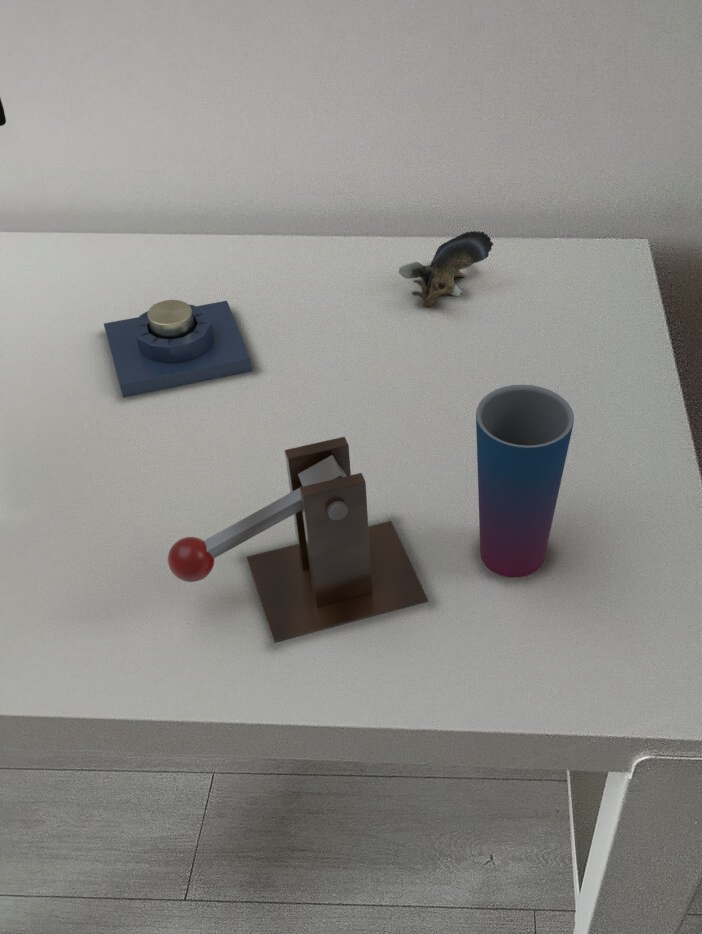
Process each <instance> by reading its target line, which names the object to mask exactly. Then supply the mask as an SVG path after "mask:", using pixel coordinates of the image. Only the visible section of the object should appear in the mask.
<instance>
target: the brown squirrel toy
mask: <svg viewBox="0 0 702 934" xmlns="http://www.w3.org/2000/svg"><path fill="white" fill-rule="evenodd" d="M491 240H492V238H491V237H490V236H488V233H485V231H479V230H478V231H476V230H474V231H472V230H470V231H466V232H463V233H461V234H460V235H458V236H455V237H453V238H451V239H449V240H448V241H446V242H444V243H442V244H440V246H438V248H437V249H436V252H435V254H434V255H433V258H432V260H431V262H430V264H427V265H423V264H422V263H420V262H418V261H413V262H409V263H406V264H404V265H401V266H400V267H399V268H398V274H399V275H401V277H403V278H404V279H408V280H410V279H414V280H413V283H416V284H418V285H419V286H420V288H421V292H420V291H417V290H416V291H411V292H412V293H411V294H412V295H413V296H415V297H416V296H417V297H420V298H421V299H422V307H423V308H431V307H432V306H433V305H434V303H435V300H436V298H437V297H439V296H441V295H446V294H449V295H451V296H453V297H461V296H463V294H464V293H463V291H462V290H461V289H460V287H459V286H458V285H457V284H456V282H455V278H467V275H466V274H464V273H463V272H461V270H464V269H467V268H470V267H471V266H472V265H473V264H477V263H480V262H482V261H484V260H485V259H487V258H488V257H489V253H490V252H491V251H492V249H493V248H492V247H493V246H494V243H493V242H492V241H491ZM416 278H421V279H416ZM422 279H423V280H422Z"/></svg>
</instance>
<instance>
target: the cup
mask: <svg viewBox="0 0 702 934" xmlns="http://www.w3.org/2000/svg"><path fill="white" fill-rule="evenodd" d="M574 422H575V415H574V411H573V409H572V407H571V405H570V403H569V402H568V401H567V400H566V399H565V398H564V397H563V396H561V395H560V394H558V393H556V392H555V391H553V390H552V389H551V390H550V389H548V388H546V387H542V386H537V385H533V384H512V385H511V384H510V385H507V386H503V387H502V386H501V387H499V388H496V389H495V390H493V391H491V392H489V393H488V394H486V395H485V396H484V397H483V398H482V399H481V400H480V402H479V403H478V405H477V407H476V411H475V426H476V429H475V432H476V460H477V461H476V463H477V464H476V465H477V490H478V491H477V493H478V495H477V496H478V523H479V525H478V526H479V527H478V528H479V553H480V554H479V555H480V559H481V561H482V563H483V564H484V566H485V567H486V568H487V569H489V570H490V571H491V572H493V573H494V574H496V575H499V576H502V577H505V578H522V577H526V576H530V575H532V574H534V573H535V572H537V571H538V570H539V569H541V567H542V565H543V564H544V561H545V558H546V554H547V553H546V552H547V547H548V545H549V544H548V543H549V540H550V534H551V530H552V525H553V520H554V515H555V511H556V508H557V507H556V506H557V502H558V497H559V491H560V488H561V484H562V480H563V479H562V478H563V474H564V469H565V465H566V460H567V456H568V451H569V446H570V442H571V438H572V433H573V428H574V424H575V423H574Z"/></svg>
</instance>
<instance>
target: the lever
mask: <svg viewBox="0 0 702 934" xmlns="http://www.w3.org/2000/svg"><path fill="white" fill-rule="evenodd" d="M298 476H299V479H300V481H301V484H302V487H303V486H307V485H311V484H315V483H320V482H324V481H328V480H333V479H337V478H341V477H345V476H346V474H345V473H344V471H343V470H342V468H341V467H340V465H339V464H338V462H337V461H336V459H335V458H334V457H333V455H331V456H329V457H328V458H326V459H324V460H322V461H320V462H319V463H317V464H315V465H313V466H311V467H310V468H308V469H306V470H304V471H302V472H301V473H299V474H298ZM301 510H302V504H301V496H300V489H299V488H298V489H296V490H295V491H293V492H291V493H290V492H289V493H287V494H286V495H284V496H282V497H280V498H278V499H276V500H275V501H273V502H271V503H270V504H268V505H266V506H264V507H262V508H261V509H259V510H256V511H255V512H253V513H251V514H249V515H247V516H246V517H244V518H242V519H241V520H238V521H237V522H235V523H234V524H232V525H230V526H228V527H226V528H224V529H223V530H220V531H219V532H217V533H215V534H213V535H212V536H210V537H208V538H206V539H205V540H204V539H202V538H200V537H195V536H186V537H183V538H182V537H181V538H180V539H178V540H177V541H176V542H174V543H173V544H172V546H170V549H169V551H168V554H167V564H168V568H169V570H170V572H171V573H172V574H173V575H174V576H175V578H177V579H179V580H181V581H183V582H187V583H196V582H200V581H202V580H204V579H205V578H206V577H208V576H209V575H210V573H211V572H212V570H213V568H214V566H215V559H217V558H218V557H219V556H221V555H223V554H225V553H226V552H228V551H230V550H232V549H234V548H236V547H237V546H239V545H241V544H243V543H245V542H247V541H249V540H250V539H253V538H254V537H256V536H257V535H259V534H261V533H262V532H265V531H267V530H268V529H271V528H272V527H274V526H276V525H277V524H280V523H281V522H283V521H285V520H287V519H288V518H290V517H292V516H293V515H294V514H295V513H297V512H299V511H301Z"/></svg>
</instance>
